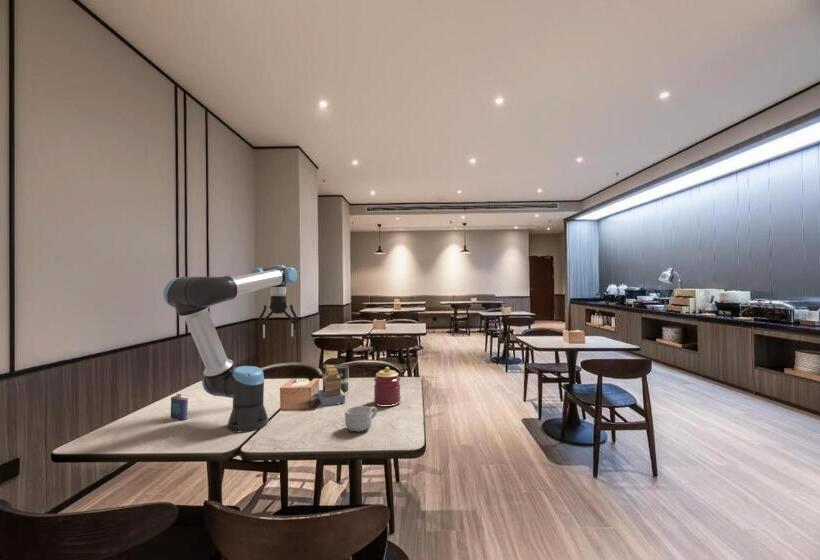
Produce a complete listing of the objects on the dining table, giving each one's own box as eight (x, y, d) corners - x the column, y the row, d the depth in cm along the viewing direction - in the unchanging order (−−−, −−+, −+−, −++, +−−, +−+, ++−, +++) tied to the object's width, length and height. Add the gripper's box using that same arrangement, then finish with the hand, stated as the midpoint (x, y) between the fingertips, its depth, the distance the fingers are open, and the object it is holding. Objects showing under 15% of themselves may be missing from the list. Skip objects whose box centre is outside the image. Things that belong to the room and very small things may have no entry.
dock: (345, 403, 176) (345, 394, 176) (322, 406, 172) (322, 397, 172) (340, 395, 189) (340, 387, 189) (318, 398, 185) (318, 389, 185)
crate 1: (334, 374, 183) (334, 366, 184) (326, 375, 182) (326, 367, 182) (333, 372, 187) (333, 365, 187) (325, 373, 186) (325, 365, 186)
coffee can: (345, 395, 189) (345, 368, 190) (326, 394, 191) (326, 367, 191) (351, 389, 200) (351, 364, 200) (333, 389, 201) (333, 363, 202)
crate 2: (337, 378, 176) (337, 369, 176) (329, 378, 175) (329, 370, 175) (336, 376, 180) (336, 368, 180) (327, 376, 178) (327, 368, 178)
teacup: (349, 437, 136) (349, 415, 137) (341, 427, 146) (341, 407, 146) (383, 430, 143) (383, 409, 143) (373, 421, 152) (373, 402, 153)
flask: (189, 418, 157) (189, 393, 157) (182, 421, 154) (182, 395, 154) (174, 416, 160) (174, 391, 160) (168, 418, 157) (168, 393, 158)
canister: (405, 401, 178) (405, 365, 179) (390, 409, 167) (390, 371, 168) (384, 397, 185) (384, 363, 186) (368, 404, 174) (368, 367, 175)
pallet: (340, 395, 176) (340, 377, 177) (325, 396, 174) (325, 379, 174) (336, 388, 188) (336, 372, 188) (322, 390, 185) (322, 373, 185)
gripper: (303, 295, 192) (303, 334, 192) (252, 295, 183) (252, 337, 183) (304, 295, 185) (304, 336, 185) (251, 295, 176) (251, 339, 176)
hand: (278, 337), depth 184 cm, fingers open, 13 cm apart
